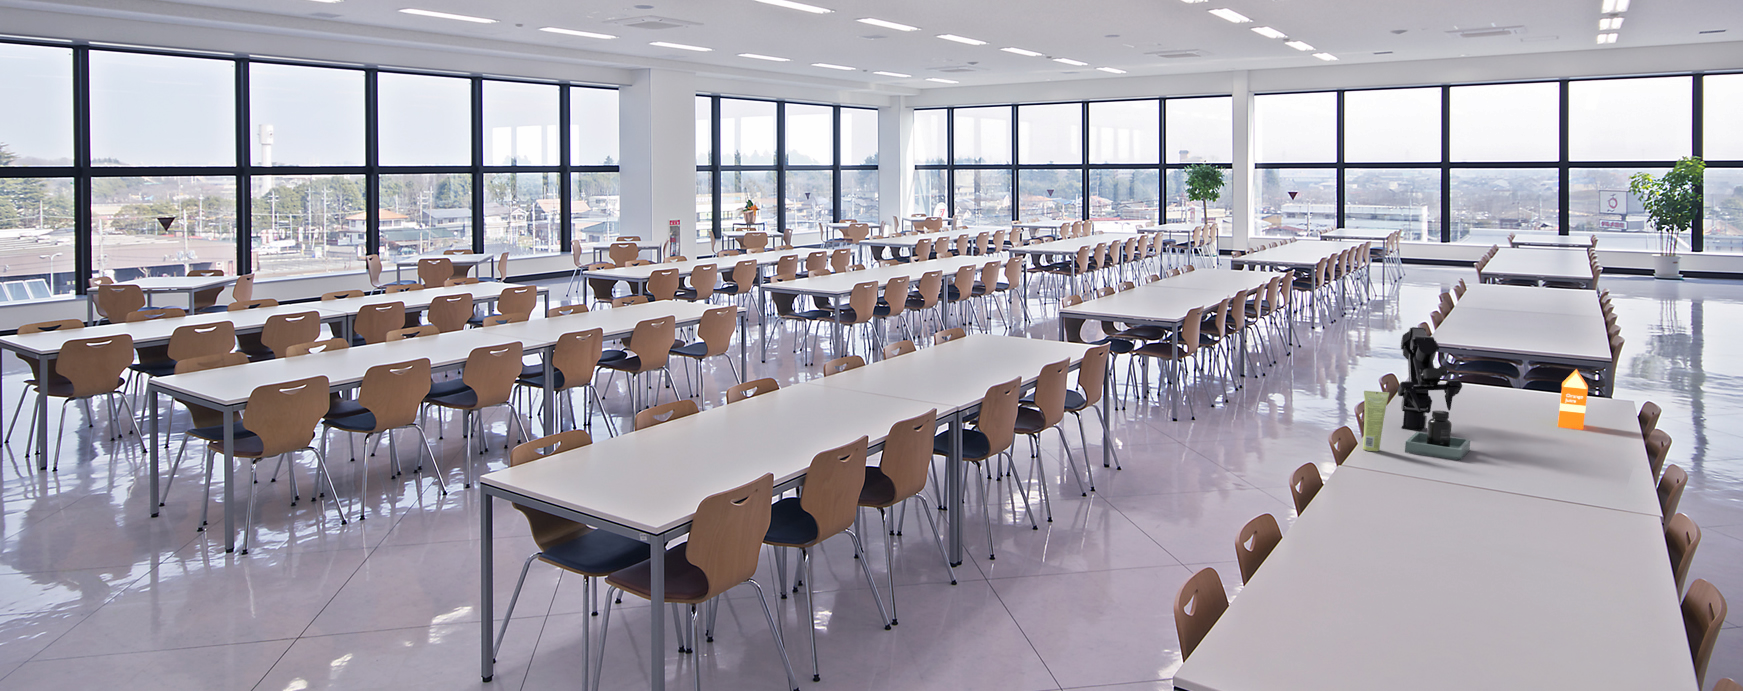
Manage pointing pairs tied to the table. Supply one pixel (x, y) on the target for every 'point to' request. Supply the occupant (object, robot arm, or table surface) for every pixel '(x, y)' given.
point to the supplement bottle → (1439, 429)
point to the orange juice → (1573, 402)
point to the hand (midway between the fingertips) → (1434, 410)
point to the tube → (1374, 418)
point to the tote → (1437, 447)
